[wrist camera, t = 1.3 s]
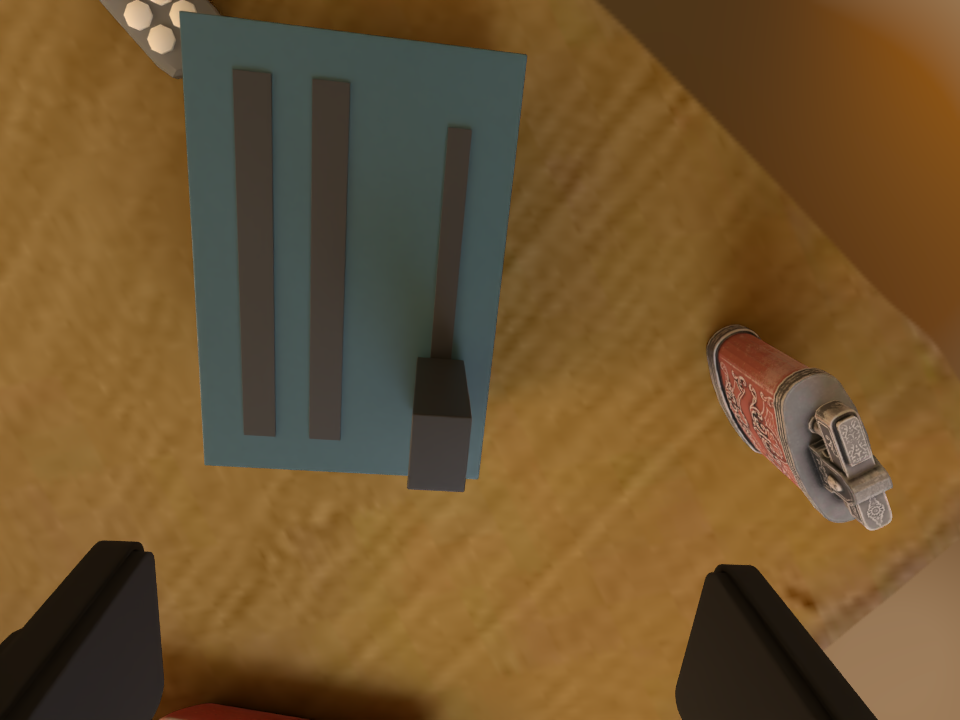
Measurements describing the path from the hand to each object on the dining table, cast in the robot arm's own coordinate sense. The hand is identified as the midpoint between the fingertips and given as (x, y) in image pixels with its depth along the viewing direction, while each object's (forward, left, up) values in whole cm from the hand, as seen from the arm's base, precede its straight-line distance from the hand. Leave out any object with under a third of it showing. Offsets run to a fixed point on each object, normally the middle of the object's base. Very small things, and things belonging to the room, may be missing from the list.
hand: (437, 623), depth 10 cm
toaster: (+3, -3, -22) cm, 22 cm away
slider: (0, +1, -13) cm, 13 cm away
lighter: (-18, +3, -22) cm, 28 cm away
